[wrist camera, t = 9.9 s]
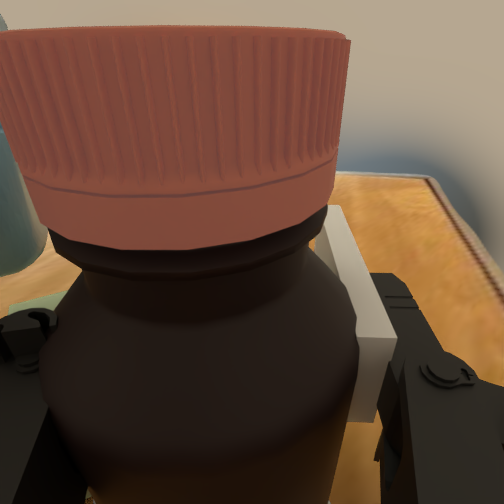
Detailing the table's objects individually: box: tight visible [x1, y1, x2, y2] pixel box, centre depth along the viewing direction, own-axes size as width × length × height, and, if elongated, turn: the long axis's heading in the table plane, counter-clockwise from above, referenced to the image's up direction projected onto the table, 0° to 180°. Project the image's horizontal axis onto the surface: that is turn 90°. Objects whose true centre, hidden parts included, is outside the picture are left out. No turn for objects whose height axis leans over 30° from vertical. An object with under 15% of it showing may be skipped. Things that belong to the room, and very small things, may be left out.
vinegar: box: [0, 25, 360, 504], centre depth 10 cm, size 7×7×20 cm
